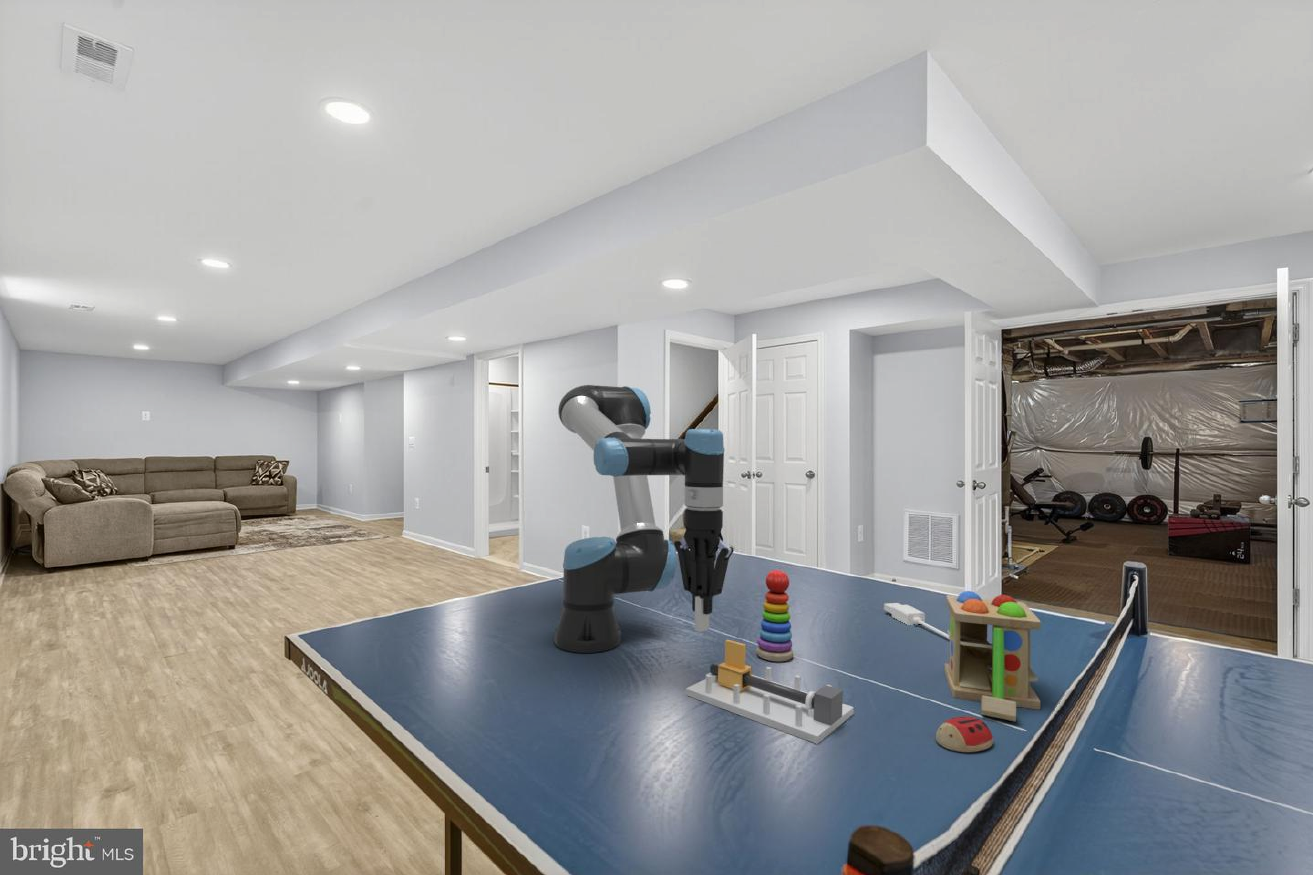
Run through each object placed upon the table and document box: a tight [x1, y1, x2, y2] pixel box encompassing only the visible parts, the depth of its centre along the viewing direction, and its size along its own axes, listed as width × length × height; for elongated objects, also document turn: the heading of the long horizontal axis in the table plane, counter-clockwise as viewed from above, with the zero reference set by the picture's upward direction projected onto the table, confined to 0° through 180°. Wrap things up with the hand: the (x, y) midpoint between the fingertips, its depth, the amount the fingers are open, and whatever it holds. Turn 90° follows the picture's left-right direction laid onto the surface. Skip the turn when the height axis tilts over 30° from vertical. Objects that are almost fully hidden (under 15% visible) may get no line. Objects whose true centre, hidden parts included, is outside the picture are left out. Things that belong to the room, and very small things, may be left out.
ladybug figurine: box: [935, 716, 994, 753], centre depth 96 cm, size 7×10×4 cm
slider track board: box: [685, 663, 855, 745], centre depth 108 cm, size 26×14×6 cm, turn 49°
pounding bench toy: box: [944, 590, 1042, 722], centre depth 113 cm, size 23×14×18 cm, turn 160°
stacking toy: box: [755, 569, 795, 662], centre depth 132 cm, size 8×8×19 cm
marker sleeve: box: [717, 639, 753, 692], centre depth 113 cm, size 5×4×8 cm
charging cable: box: [883, 602, 950, 640], centre depth 151 cm, size 5×32×3 cm, turn 13°
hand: (701, 629), depth 118 cm, fingers closed
